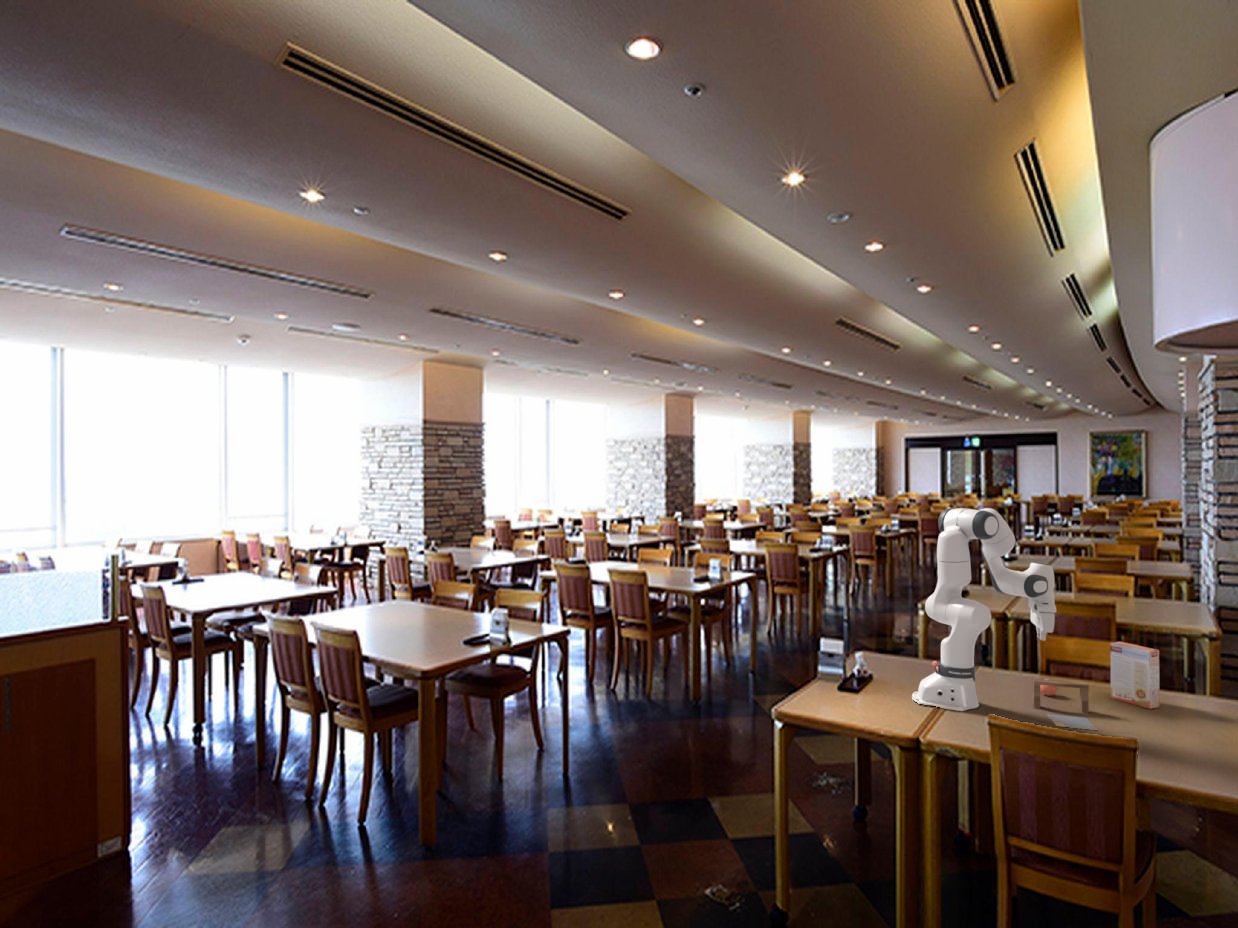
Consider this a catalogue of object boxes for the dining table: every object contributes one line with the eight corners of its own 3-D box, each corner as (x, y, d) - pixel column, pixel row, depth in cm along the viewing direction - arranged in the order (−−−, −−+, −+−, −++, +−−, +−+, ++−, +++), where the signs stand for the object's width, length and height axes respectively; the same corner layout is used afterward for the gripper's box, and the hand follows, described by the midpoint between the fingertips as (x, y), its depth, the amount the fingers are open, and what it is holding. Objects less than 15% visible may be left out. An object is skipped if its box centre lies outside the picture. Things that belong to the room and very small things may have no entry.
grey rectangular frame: (1088, 712, 252) (1088, 685, 252) (1034, 707, 257) (1033, 680, 257) (1085, 709, 255) (1085, 682, 255) (1032, 705, 260) (1031, 678, 260)
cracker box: (1160, 707, 257) (1160, 649, 257) (1149, 709, 255) (1149, 651, 255) (1120, 695, 270) (1120, 640, 270) (1109, 697, 268) (1109, 642, 268)
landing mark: (1056, 726, 239) (1056, 726, 239) (1046, 714, 250) (1046, 714, 250) (1097, 730, 235) (1097, 730, 235) (1086, 718, 246) (1086, 717, 246)
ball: (1041, 696, 269) (1041, 680, 269) (1037, 691, 275) (1037, 676, 275) (1059, 698, 267) (1059, 682, 267) (1054, 693, 273) (1054, 677, 273)
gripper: (1026, 598, 291) (1026, 632, 291) (1038, 608, 271) (1038, 644, 271) (1043, 599, 289) (1043, 633, 289) (1057, 609, 269) (1057, 645, 269)
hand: (1041, 638), depth 280 cm, fingers open, 2 cm apart
